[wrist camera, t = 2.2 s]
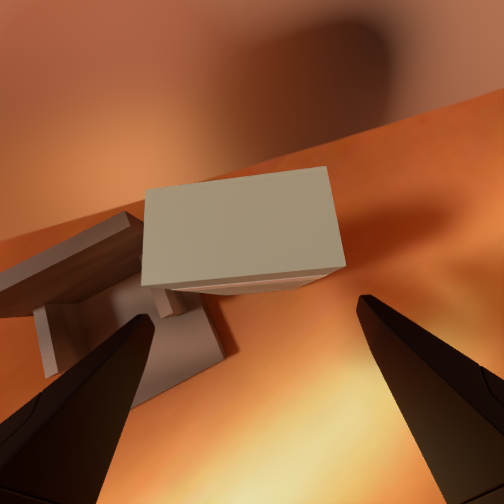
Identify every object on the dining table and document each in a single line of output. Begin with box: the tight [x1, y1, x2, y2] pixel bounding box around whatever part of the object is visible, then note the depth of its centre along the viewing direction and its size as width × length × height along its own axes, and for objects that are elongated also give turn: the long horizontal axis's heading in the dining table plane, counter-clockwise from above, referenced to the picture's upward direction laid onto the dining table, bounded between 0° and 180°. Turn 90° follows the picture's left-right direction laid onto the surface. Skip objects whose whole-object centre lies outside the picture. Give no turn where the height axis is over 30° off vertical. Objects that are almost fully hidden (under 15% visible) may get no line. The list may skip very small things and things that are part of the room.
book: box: [141, 166, 346, 296], centre depth 13 cm, size 4×6×13 cm, turn 95°
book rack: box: [0, 211, 227, 408], centre depth 15 cm, size 12×13×8 cm
